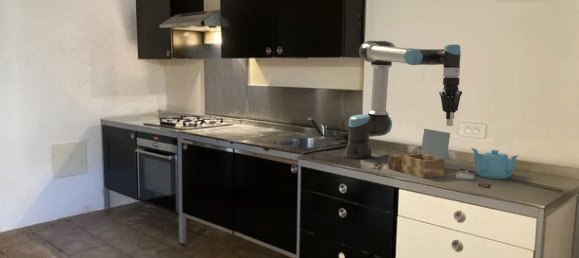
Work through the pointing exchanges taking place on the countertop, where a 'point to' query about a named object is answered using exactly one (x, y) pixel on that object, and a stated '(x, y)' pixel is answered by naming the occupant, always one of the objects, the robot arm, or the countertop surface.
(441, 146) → the lid
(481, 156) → the teapot
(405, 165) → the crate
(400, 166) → the block
